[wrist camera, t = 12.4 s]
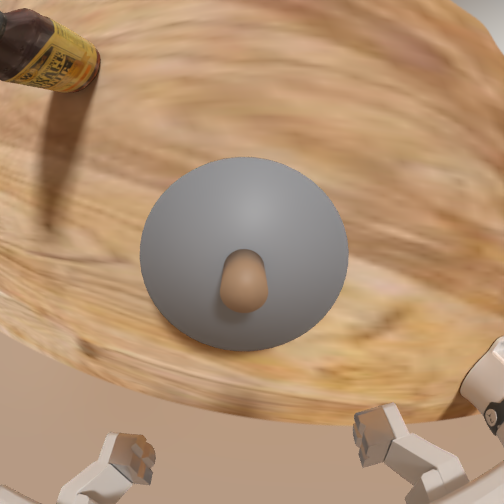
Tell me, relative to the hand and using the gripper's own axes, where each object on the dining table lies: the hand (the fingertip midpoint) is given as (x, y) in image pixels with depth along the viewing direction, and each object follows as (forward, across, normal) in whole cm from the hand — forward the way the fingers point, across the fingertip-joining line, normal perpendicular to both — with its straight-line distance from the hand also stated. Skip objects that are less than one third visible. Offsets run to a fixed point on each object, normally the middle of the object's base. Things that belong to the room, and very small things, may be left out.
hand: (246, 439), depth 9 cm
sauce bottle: (+23, -14, +23) cm, 36 cm away
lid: (+16, 0, 0) cm, 16 cm away
